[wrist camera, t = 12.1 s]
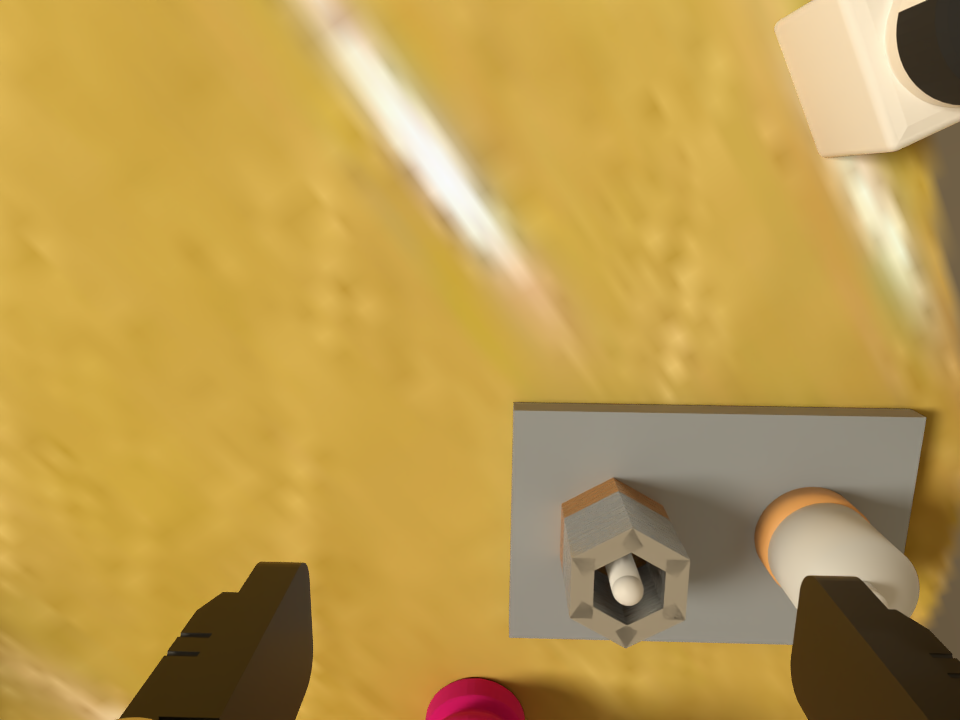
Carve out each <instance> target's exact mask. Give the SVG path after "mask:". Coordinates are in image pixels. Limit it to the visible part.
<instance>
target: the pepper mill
mask: <svg viewBox="0 0 960 720" xmlns="http://www.w3.org/2000/svg"><path fill="white" fill-rule="evenodd" d="M426 720H525V716H524V712H523V709H522V706H521V704H520V703H519V701H518V699H517V698H516V697H515V696H514V694H513V693H511V692H510V691H509V690H508V689H506V688H505V687H504V686H502V685H500V684H498V683H496V682H494V681H489V680H485V679H481V678H470V679H461V680H458V681H455V682H452V683H450V684H449V685H447V686H445V687H444V688H442V689H441V690H440V691H439V692H438V693H437V694H436V695H435V696H434V698H433V699H432V700H431V702H430V704H429V707H428V709H427V714H426Z"/></svg>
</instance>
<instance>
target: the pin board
mask: <svg viewBox="0 0 960 720" xmlns="http://www.w3.org/2000/svg"><path fill="white" fill-rule="evenodd" d="M925 423H926V417H925V416H923V415H921V414H919V413H917V412H915V411H914V410H912V409H884V408H824V407H764V406H703V405H643V404H583V403H522V402H514V406H513V454H512V503H511V551H510V600H509V638H547V639H587V640H609V639H607V638H606V637H604V636H602V635H600V634H598V633H596V632H594V631H593V630H591V629H589V628H587V627H585V626H583V625H581V624H580V623H578V622H576V621H574V620H572V619H570V617H569V611H568V605H567V598H566V592H565V586H564V579H563V573H562V567H561V560H560V536H561V504H562V503H564V502H566V501H568V500H570V499H572V498H574V497H576V496H578V495H580V494H582V493H583V492H585V491H587V490H589V489H591V488H593V487H595V486H597V485H599V484H601V483H603V482H605V481H607V480H609V479H611V478H615V479H617V480H619V481H620V482H622V483H624V484H626V485H628V486H629V487H631V488H633V489H635V490H636V491H638V492H640V493H642V494H644V495H645V496H647V497H649V498H651V499H652V500H654V501H656V502H658V503H659V504H661V505H663V507H664V509H665V511H666V513H667V515H668V517H669V519H670V521H671V523H672V525H673V527H674V529H675V531H676V533H677V535H678V537H679V539H680V541H681V543H682V545H683V547H684V549H685V551H686V553H687V555H688V557H689V559H690V568H689V581H688V593H687V606H686V619H685V621H683V622H681V623H679V624H676V625H674V626H672V627H670V628H668V629H666V630H664V631H662V632H659V633H657V634H655V635H653V636H651V637H649V638H647V639H645V640H642V641H667V642H707V643H747V644H787V645H793V639H794V631H795V623H796V615H797V608H798V600H799V592H800V587H801V583H802V581H803V579H804V578H805V577H806V576H809V575H817V576H855V577H858V578H860V579H861V580H862V581H863V582H864V583H865V584H866V585H867V586H868V587H869V589H870V590H871V591H872V592H873V593H874V594H875V595H876V596H877V597H878V598H879V599H880V601H881V602H882V603H883V604H884V605H885V606H886V607H887V608H888V609H896V610H898V611H899V612H901V613H903V614H904V615H906V616H907V617H909V618H910V616H911V615H912V613H913V611H914V609H915V607H916V604H917V601H918V597H919V580H918V575H917V573H916V570H915V568H914V566H913V565H912V563H911V562H910V561H909V559H908V558H907V557H906V556H905V555H904V550H905V544H906V538H907V532H908V526H909V520H910V514H911V508H912V502H913V496H914V490H915V484H916V478H917V472H918V465H919V459H920V453H921V447H922V441H923V435H924V429H925ZM605 568H606V571H607V575H608V578H609V582H610V586H611V589H612V593H613V596H614V598H615V599H616V600H617V601H618V602H619V603H620V604H622V605H625V606H632V605H635V604H637V603H638V602H639V601H640V600H641V599H642V597H643V593H644V588H643V584H642V581H641V579H640V576H639V573H638V570H637V567H636V565H635V562H634V559H633V556H632V553H629V554H627V555H625V556H623V557H621V558H619V559H617V560H615V561H613V562H611V563H609V564H607V565H605Z"/></svg>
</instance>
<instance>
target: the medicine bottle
mask: <svg viewBox="0 0 960 720" xmlns="http://www.w3.org/2000/svg"><path fill="white" fill-rule="evenodd" d="M774 30H775V34H776V37H777V39H778V42H779V45H780V48H781V50H782V53H783V56H784V59H785V61H786V64H787V67H788V70H789V73H790V75H791V78H792V81H793V84H794V86H795V89H796V92H797V95H798V97H799V100H800V103H801V106H802V109H803V111H804V114H805V117H806V120H807V122H808V125H809V128H810V131H811V133H812V136H813V139H814V142H815V145H816V147H817V150H818V153H819V154H820V156H822V157H825V158H827V157H838V156H850V155H861V154H873V153H885V152H894V151H898V150H900V149H902V148H904V147H906V146H908V145H911V144H913V143H915V142H917V141H919V140H921V139H924V138H926V137H928V136H930V135H932V134H934V133H936V132H938V131H941V130H943V129H945V128H947V127H949V126H951V125H953V124H956V123H958V122H960V0H812V1H811V2H809V3H807V4H805V5H804V6H802V7H800V8H799V9H797V10H795V11H794V12H792V13H790V14H789V15H787V16H785V17H784V18H782V19H780V20H779V21H778V22H777V23H776V25H775V27H774Z"/></svg>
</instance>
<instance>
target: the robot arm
mask: <svg viewBox="0 0 960 720" xmlns="http://www.w3.org/2000/svg"><path fill="white" fill-rule="evenodd" d="M312 660H313V636H312V617H311V599H310V580H309V571H308V567H307V565H306V563H294V562H259V563H258V564H257V565H256V566H255V568H254V569H253V571H252V572H251V574H250V575H249V577H248V579H247V580H246V582H245V583H244V585H243V586H242V588H241V589H240V591H239V592H238V593H236V592H222V593H221V594H220V595H218V596H217V597H215V598H214V599H212V600H211V601H210V602H208V603H207V604H205V605H204V606H203V607H201V608H200V609H198V610H197V611H196V612H195V614H194V615H193V616H192V618H191V619H190V621H189V622H188V623H187V625H186V626H185V628H184V629H183V630H182V632H181V636H180V637H177V639H176V640H175V641H174V643H173V644H172V646H171V647H170V648H169V650H168V654H167V656H164V657H163V658H162V660H161V661H160V662H159V664H158V665H157V667H156V668H155V669H154V671H153V672H152V674H151V675H150V676H149V678H148V679H147V681H146V682H145V683H144V685H143V686H142V688H141V689H140V690H139V692H138V693H137V695H136V696H135V697H134V699H133V700H132V702H131V703H130V704H129V706H128V707H127V708H126V710H125V711H124V713H123V714H122V715H121V717H120V718H119V719H117V720H295V719H296V716H297V714H298V711H299V708H300V706H301V703H302V701H303V698H304V695H305V693H306V690H307V687H308V684H309V680H310V675H311V669H312ZM791 678H792V684H793V688H794V692H795V695H796V698H797V700H798V702H799V704H800V706H801V708H802V710H803V711H804V713H805V715H806V717H807V718H808V720H960V661H959V660H958V659H955V658H953V657H952V653H951V652H950V651H949V650H948V649H947V648H946V647H945V646H944V645H943V644H942V643H941V642H940V641H939V640H938V639H937V638H936V637H935V635H934V634H933V633H932V632H931V631H930V630H928V629H927V628H925V627H924V626H922V625H920V624H919V623H917V622H916V621H914V620H912V619H911V618H909V617H907V616H906V615H904V614H903V613H901V612H899V611H898V610H896V609H888V608H887V607H886V606H885V605H884V604H883V603H882V602H881V601H880V599H879V598H878V597H877V596H876V595H875V594H874V593H873V592H872V591H871V590H870V589H869V587H868V586H867V585H866V584H865V583H864V582H863V581H862V580H861V579H860V578H858V577H855V576H817V575H809V576H806V577H805V578H804V579H803V581H802V583H801V587H800V592H799V600H798V608H797V615H796V623H795V631H794V639H793V646H792V654H791Z"/></svg>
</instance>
